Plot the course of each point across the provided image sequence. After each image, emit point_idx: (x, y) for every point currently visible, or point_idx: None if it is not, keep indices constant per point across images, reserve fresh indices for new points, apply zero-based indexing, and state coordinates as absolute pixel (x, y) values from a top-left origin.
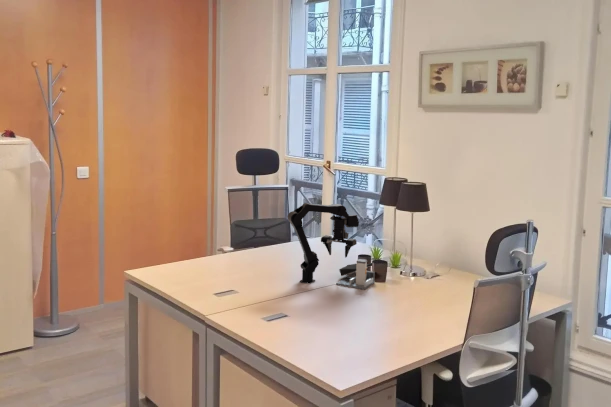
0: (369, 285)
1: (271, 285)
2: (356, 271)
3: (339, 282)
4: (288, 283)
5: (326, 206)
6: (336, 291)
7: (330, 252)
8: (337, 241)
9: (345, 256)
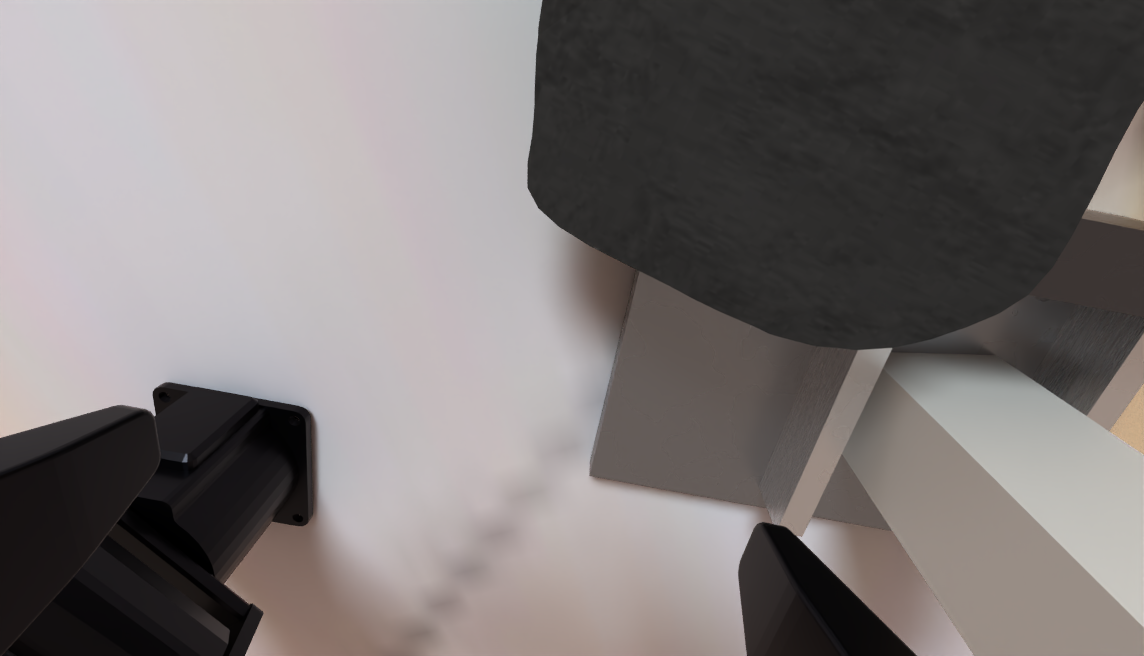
0: None
1: None
2: (943, 601)
3: (623, 452)
4: None
5: None
6: (643, 635)
7: (69, 536)
8: None
9: (756, 615)
